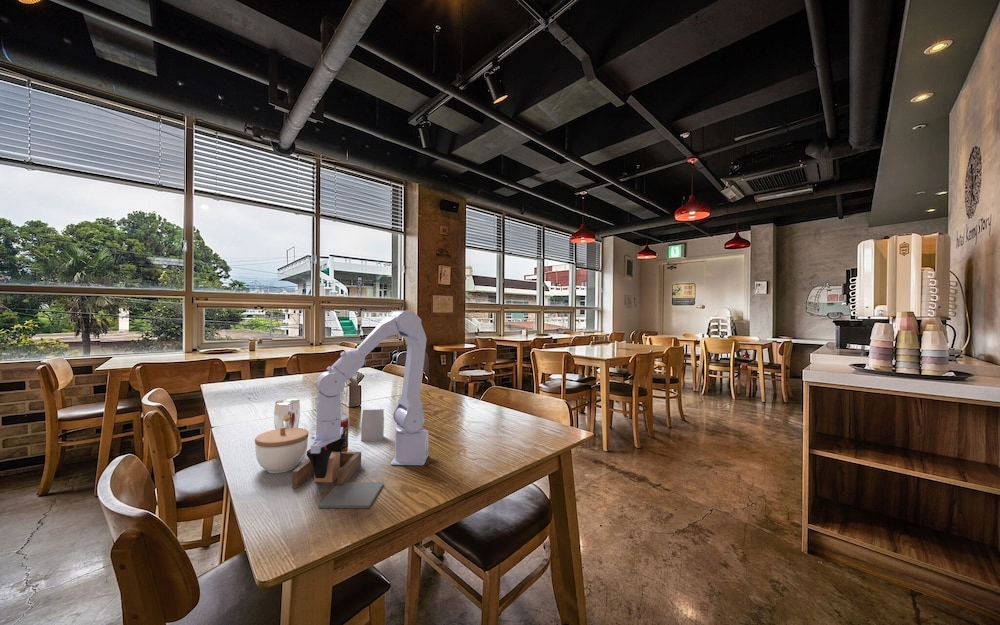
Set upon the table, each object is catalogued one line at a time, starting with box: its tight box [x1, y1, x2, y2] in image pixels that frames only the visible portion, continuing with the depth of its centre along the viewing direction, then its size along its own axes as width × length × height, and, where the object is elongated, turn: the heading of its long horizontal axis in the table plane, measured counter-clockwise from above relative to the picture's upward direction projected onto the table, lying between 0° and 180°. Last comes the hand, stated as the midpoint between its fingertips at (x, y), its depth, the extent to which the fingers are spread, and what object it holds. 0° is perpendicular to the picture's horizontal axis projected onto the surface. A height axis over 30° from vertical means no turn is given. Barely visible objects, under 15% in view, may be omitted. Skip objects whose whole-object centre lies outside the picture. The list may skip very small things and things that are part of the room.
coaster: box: [317, 481, 385, 509], centre depth 85 cm, size 11×11×1 cm
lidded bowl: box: [254, 427, 309, 474], centre depth 99 cm, size 13×13×11 cm
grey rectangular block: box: [360, 408, 385, 442], centre depth 124 cm, size 4×7×10 cm, turn 100°
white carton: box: [273, 398, 301, 430], centre depth 112 cm, size 7×7×15 cm
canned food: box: [325, 414, 349, 452], centre depth 110 cm, size 8×8×11 cm
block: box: [313, 452, 341, 483], centre depth 94 cm, size 4×4×6 cm
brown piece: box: [291, 451, 362, 489], centre depth 95 cm, size 12×13×4 cm
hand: (327, 471), depth 94 cm, fingers open, 7 cm apart
